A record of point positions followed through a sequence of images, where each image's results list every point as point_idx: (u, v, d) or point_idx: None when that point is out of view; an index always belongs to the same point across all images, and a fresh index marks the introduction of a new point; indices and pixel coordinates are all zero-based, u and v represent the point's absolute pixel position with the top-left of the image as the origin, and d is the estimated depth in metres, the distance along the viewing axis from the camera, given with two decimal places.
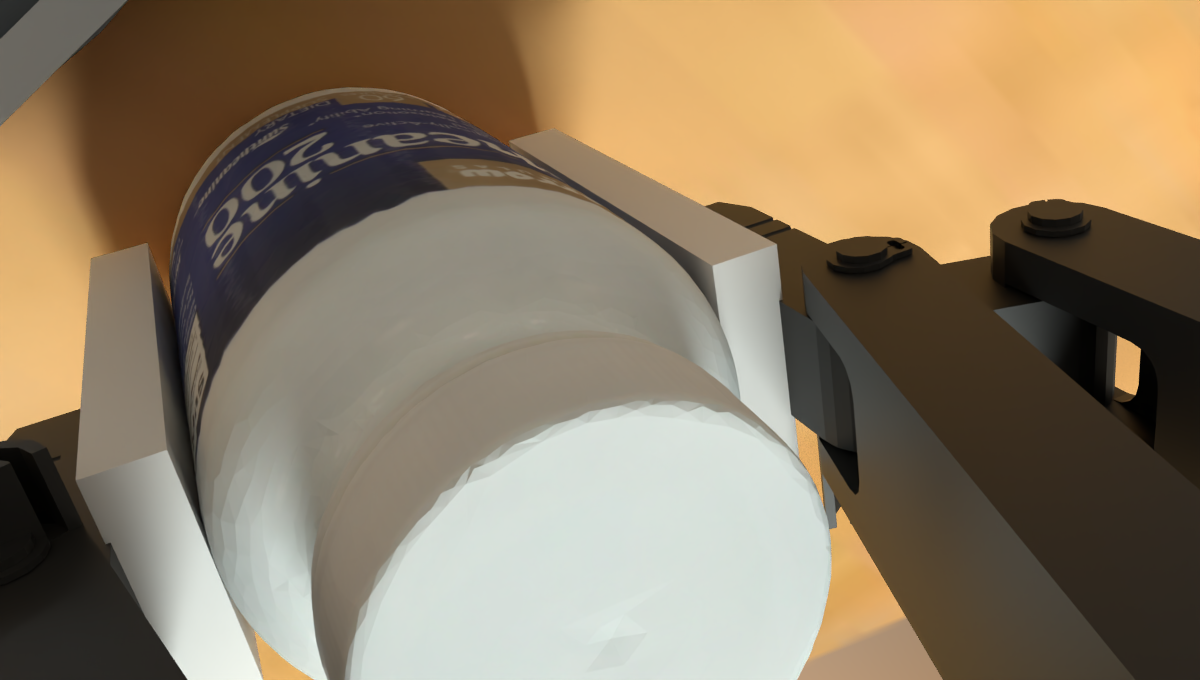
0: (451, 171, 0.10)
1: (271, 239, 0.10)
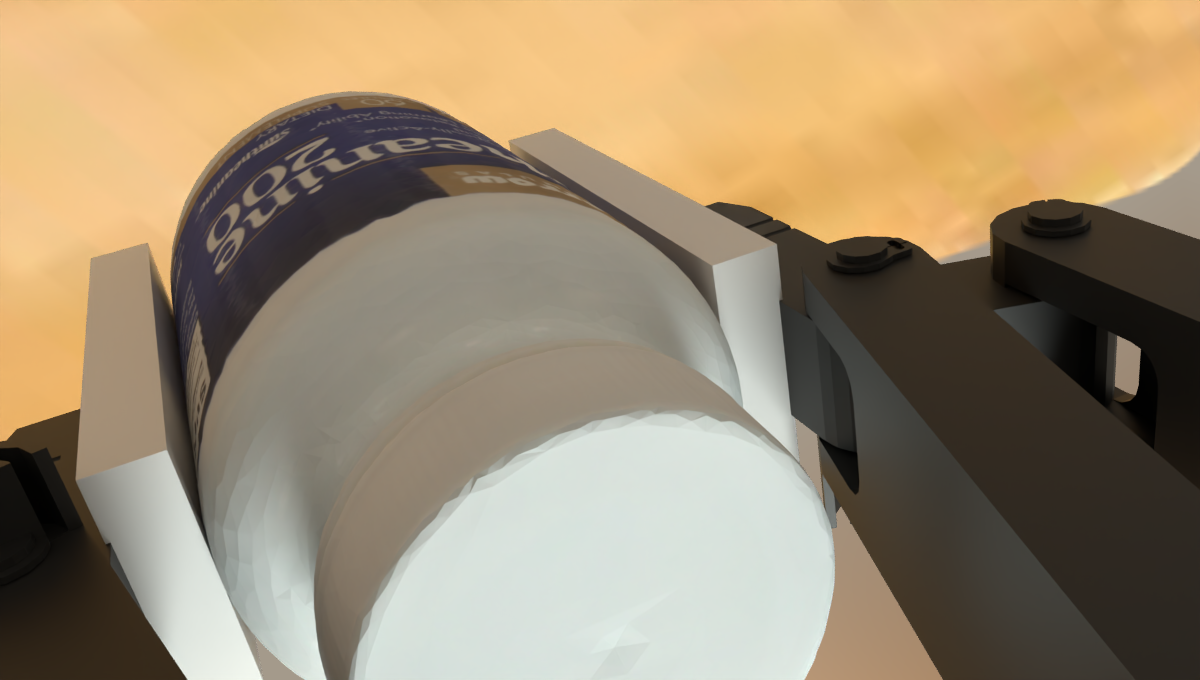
0: (453, 177, 0.10)
1: (274, 245, 0.10)
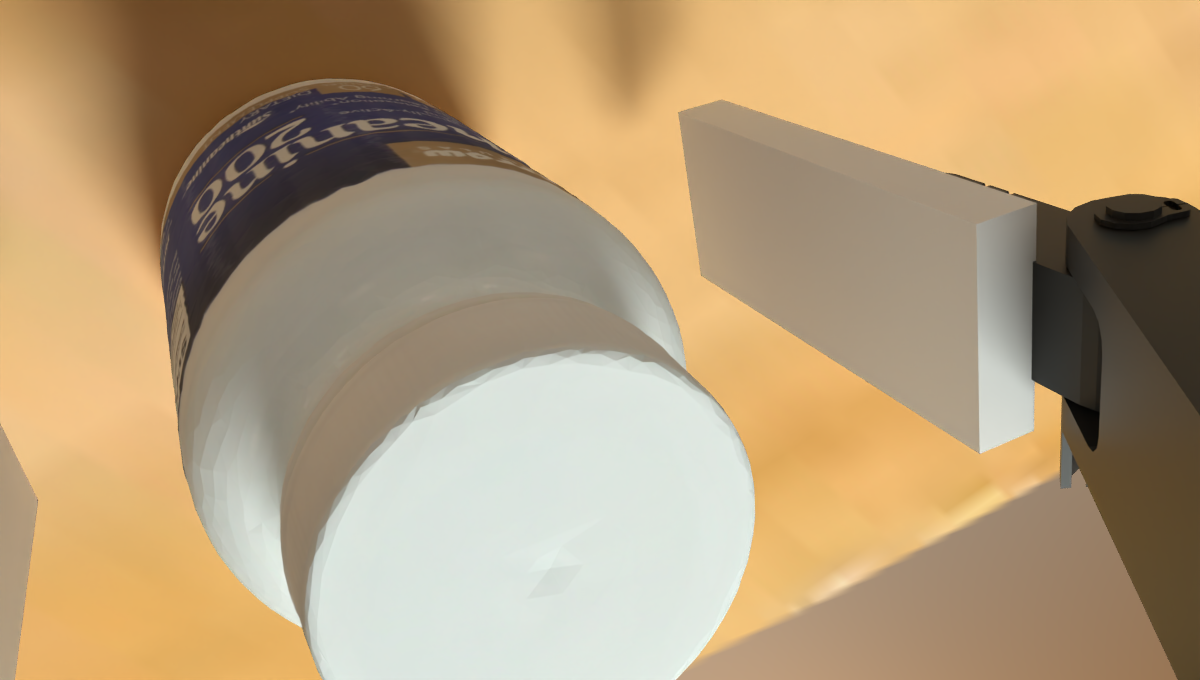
0: (416, 151, 0.11)
1: (249, 214, 0.11)
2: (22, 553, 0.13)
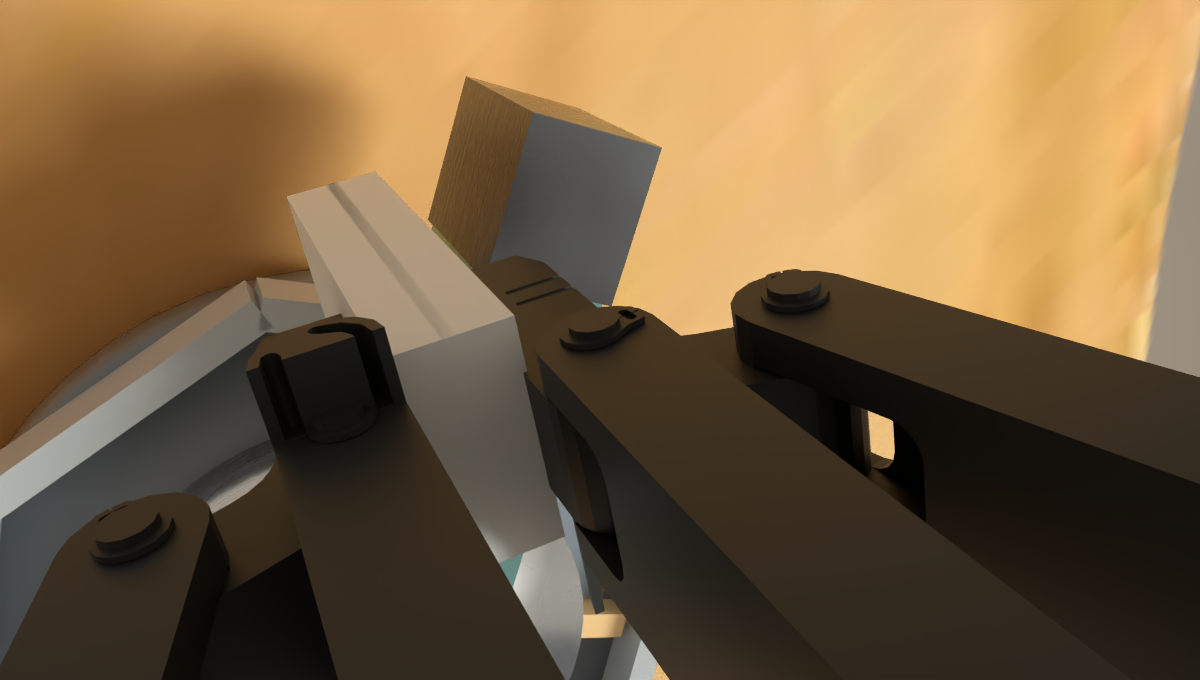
0: None
1: None
2: None
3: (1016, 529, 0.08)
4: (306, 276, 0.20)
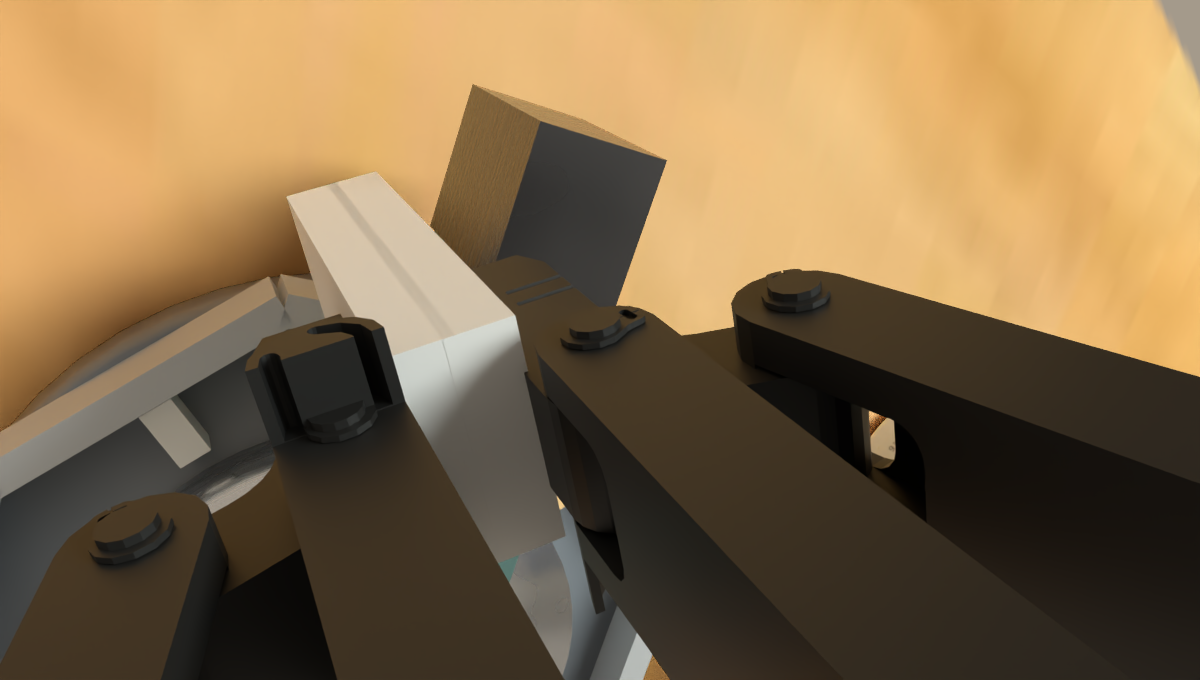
0: None
1: None
2: None
3: (1017, 529, 0.08)
4: (40, 399, 0.19)
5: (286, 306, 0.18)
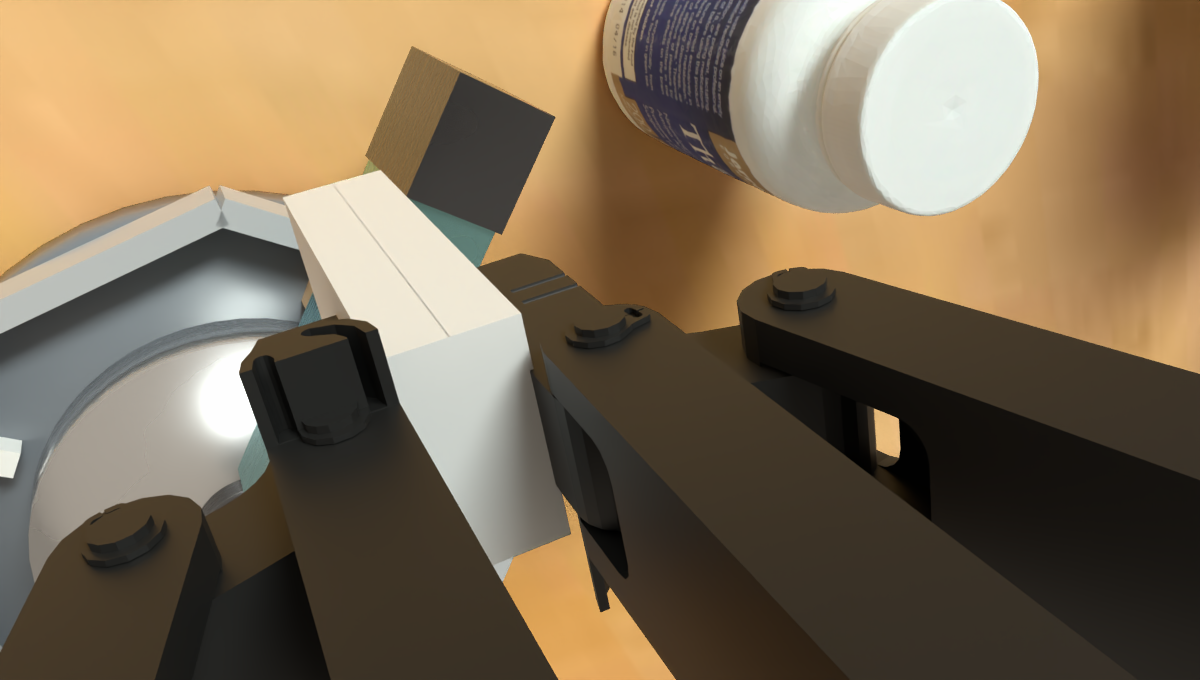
0: None
1: None
2: None
3: (1021, 527, 0.08)
4: None
5: None
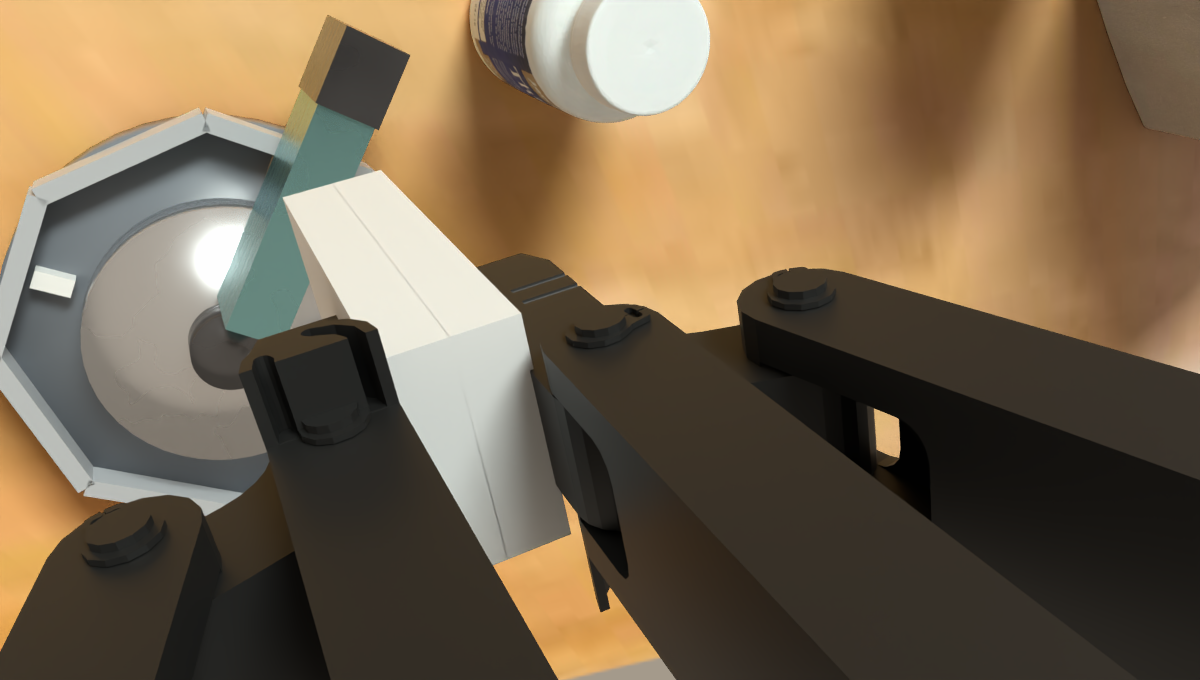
0: None
1: None
2: None
3: (1021, 526, 0.08)
4: None
5: (36, 195, 0.32)
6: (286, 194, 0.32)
